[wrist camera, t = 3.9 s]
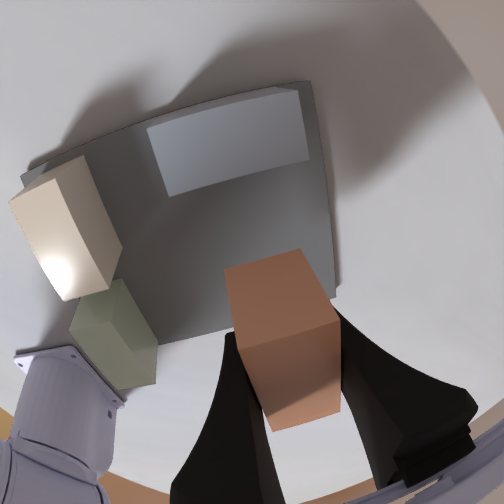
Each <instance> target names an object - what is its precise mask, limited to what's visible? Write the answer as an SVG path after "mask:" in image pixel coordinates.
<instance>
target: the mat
mask: <svg viewBox="0 0 504 504" xmlns="http://www.w3.org/2000/svg"><path fill="white" fill-rule="evenodd" d="M272 87H278V88H286V89H293V90H298V95H299V101H300V106H301V111H302V117H303V123H304V128H305V134H306V140H307V146H308V153H309V159H310V160H306V161H301V162H297V163H292V164H288V165H284V166H280V167H276V168H272V169H267V170H263V171H259V172H256V173H252V174H248V175H244V176H240V177H236V178H233V179H229V180H225V181H222V182H218V183H215V184H211V185H207V186H204V187H201V188H197V189H194V190H190V191H187V192H184V193H180V194H177V195H174V196H170V197H169V195H168V192H167V189H166V186H165V183H164V181H163V178H162V175H161V172H160V169H159V166H158V163H157V160H156V157H155V154H154V151H153V148H152V144H151V141H150V138H149V135H148V132H147V128H148V127H149V125H150V124H151V123H152V122H153V121H154V120H155V119H156V118H157V117H159V116H157V117H154V118H151V119H148V120H145V121H142V122H139V123H136V124H134V125H131V126H128V127H125V128H123V129H120V130H118V131H115V132H112V133H110V134H107V135H105V136H102V137H100V138H98V139H95V140H93V141H90V142H88V143H86V144H83V145H81V146H79V147H77V148H74V149H72V150H70V151H68V152H66V153H64V154H61V155H59V156H57V157H55V158H53V159H51V160H49V161H47V162H45V163H43V164H41V165H39V166H37V167H35V168H33V169H31V170H30V171H28V172H26V173H24V174H23V175H21V176H20V177H21V180H22V182H23V185H24V187H26V186H27V185H29V184H30V183H31V182H32V181H34V180H35V179H36V178H37V177H39V176H40V175H41V174H43V173H45V172H47V171H49V170H51V169H53V168H56V167H58V166H60V165H62V164H64V163H66V162H68V161H71V160H73V159H75V158H77V157H80V156H82V155H84V157H85V160H86V162H87V165H88V167H89V170H90V173H91V175H92V178H93V180H94V183H95V185H96V188H97V190H98V193H99V195H100V197H101V200H102V202H103V205H104V207H105V209H106V212H107V214H108V216H109V218H110V221H111V223H112V225H113V227H114V230H115V232H116V234H117V236H118V238H119V241H120V243H121V245H122V247H123V248H122V251H121V254H120V257H119V260H118V263H117V266H116V269H115V272H114V275H113V278H112V281H113V280H116V279H120V278H122V279H123V281H124V283H125V285H126V287H127V288H128V290H129V292H130V294H131V296H132V297H133V299H134V301H135V303H136V305H137V306H138V308H139V310H140V311H141V313H142V315H143V317H144V318H145V320H146V322H147V323H148V325H149V327H150V328H151V330H152V332H153V333H154V335H155V337H156V338H157V340H158V345H162V344H166V343H171V342H175V341H180V340H184V339H188V338H192V337H196V336H201V335H205V334H209V333H213V332H217V331H221V330H224V329H228V328H232V327H234V326H233V321H232V315H231V309H230V304H229V298H228V292H227V287H226V281H225V275H224V269H228V268H231V267H235V266H239V265H242V264H246V263H249V262H253V261H257V260H260V259H264V258H267V257H271V256H274V255H278V254H282V253H285V252H289V251H292V250H296V249H299V248H300V249H301V251H302V252H303V254H304V256H305V257H306V259H307V261H308V263H309V264H310V266H311V268H312V270H313V272H314V273H315V275H316V277H317V279H318V280H319V282H320V284H321V286H322V287H323V289H324V291H325V293H326V295H327V296H328V298H329V299H332V298H335V297H336V285H335V269H334V256H333V244H332V232H331V222H330V212H329V203H328V194H327V185H326V177H325V169H324V162H323V155H322V148H321V141H320V134H319V128H318V121H317V115H316V109H315V104H314V98H313V92H312V87H311V82H310V81H302V82H295V83H289V84H283V85H278V86H272ZM267 88H271V87H267ZM262 89H266V88H262ZM257 90H261V89H257ZM252 91H256V90H252ZM248 92H251V91H248ZM243 93H246V92H243ZM239 94H242V93H239ZM234 95H238V94H234ZM230 96H233V95H230ZM226 97H229V96H226ZM222 98H225V97H222ZM218 99H221V98H218ZM214 100H217V99H214ZM210 101H213V100H210ZM207 102H209V101H207ZM203 103H206V102H203ZM199 104H202V103H199ZM196 105H198V104H196ZM192 106H195V105H192ZM189 107H191V106H189ZM185 108H188V107H185ZM182 109H184V108H182ZM179 110H181V109H179ZM175 111H178V110H175ZM172 112H174V111H172ZM169 113H171V112H169ZM166 114H168V113H166ZM163 115H165V114H163ZM160 116H162V115H160Z"/></svg>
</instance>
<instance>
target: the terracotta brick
mask: <svg viewBox="0 0 504 504" xmlns="http://www.w3.org/2000/svg"><path fill="white" fill-rule="evenodd" d="M224 275H225V281H226V287H227V292H228V298H229V304H230V309H231V315H232V321H233V326H234V332H235V337H236V342H237V348H238V351H239V354H240V356H241V359H242V361H243V364H244V366H245V369H246V371H247V373H248V376H249V378H250V381H251V383H252V385H253V388H254V390H255V393H256V395H257V397H258V400H259V402H260V404H261V407H262V409H263V411H264V414H265V416H266V418H267V420H268V423H269V425H270V427H271V430H272V432H275V431H279V430H282V429H286V428H290V427H293V426H297V425H300V424H303V423H307V422H310V421H313V420H316V419H320V418H323V417H326V416H329V415H332V414H335V413H338V412H340V400H341V330H340V318H339V317H338V315H337V313H336V311H335V309H334V307H333V306H332V304H331V302H330V300H329V298H328V296H327V295H326V293H325V291H324V289H323V287H322V286H321V284H320V282H319V280H318V279H317V277H316V275H315V273H314V272H313V270H312V268H311V266H310V264H309V263H308V261H307V259H306V257H305V256H304V254H303V252H302V251H301V249H300V248H299V249H296V250H292V251H289V252H285V253H282V254H278V255H274V256H271V257H267V258H264V259H260V260H257V261H253V262H249V263H246V264H242V265H239V266H235V267H231V268H228V269H224Z"/></svg>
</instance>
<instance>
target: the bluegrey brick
mask: <svg viewBox="0 0 504 504" xmlns="http://www.w3.org/2000/svg"><path fill="white" fill-rule="evenodd" d="M147 132H148V135H149V138H150V141H151V144H152V148H153V151H154V154H155V157H156V160H157V163H158V166H159V169H160V172H161V175H162V178H163V181H164V183H165V186H166V189H167V192H168V195H169V197H170V196H174V195H177V194H180V193H184V192H187V191H190V190H194V189H197V188H201V187H204V186H207V185H211V184H215V183H218V182H222V181H225V180H229V179H233V178H236V177H240V176H244V175H248V174H252V173H256V172H259V171H263V170H267V169H272V168H276V167H280V166H284V165H288V164H292V163H297V162H301V161H306V160H310V159H309V153H308V146H307V140H306V134H305V128H304V123H303V117H302V111H301V106H300V101H299V95H298V90H293V89H286V88H278V87H271V88H266V89H261V90H256V91H251V92H246V93H242V94H238V95H233V96H229V97H225V98H221V99H217V100H213V101H209V102H206V103H202V104H198V105H195V106H191V107H188V108H184V109H181V110H178V111H174V112H171V113H168V114H165V115H162V116H159V117H157V118H156V119H155V120H154V121H153V122H152V123H151V124H150V125H149V127H148V128H147Z"/></svg>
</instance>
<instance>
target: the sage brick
mask: <svg viewBox="0 0 504 504" xmlns="http://www.w3.org/2000/svg"><path fill="white" fill-rule="evenodd" d="M69 333H70V334H71V335H72V337H73V338H74V339H75V341H76V342H77V343H78V345H79V346H80V347H81V348H82V350H83V351H84V352H85V353H86V355H87V356H88V357H89V358H90V359H91V361H92V362H93V363H94V364H95V365H96V367H97V368H98V369H99V370H100V371H101V373H102V374H103V375H104V376H105V377H106V378H107V379H108V381H109V382H110V383H111V384H112V385H113V386H114V387H115V388H116V389H117V390H122V389H128V388H135V387H141V386H147V385H153V384H156V365H157V347H158V340H157V338H156V337H155V335H154V333H153V332H152V330H151V328H150V327H149V325H148V323H147V322H146V320H145V318H144V317H143V315H142V313H141V311H140V310H139V308H138V306H137V305H136V303H135V301H134V299H133V297H132V296H131V294H130V292H129V290H128V288H127V287H126V285H125V283H124V281H123V279H122V278H120V279H116V280H113V281H112V282H111V285H110V288H109V289H107V290H103V291H100V292H96V293H93V294H89V295H85V296H82V297H81V298H80V300H79V303H78V306H77V308H76V311H75V314H74V317H73V319H72V322H71V325H70V328H69Z"/></svg>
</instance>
